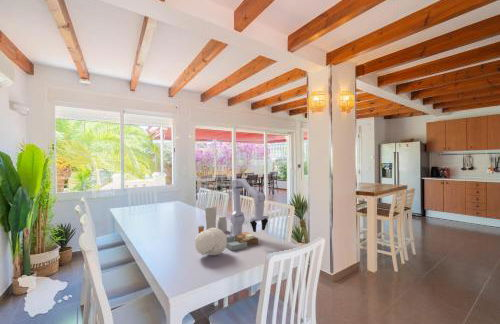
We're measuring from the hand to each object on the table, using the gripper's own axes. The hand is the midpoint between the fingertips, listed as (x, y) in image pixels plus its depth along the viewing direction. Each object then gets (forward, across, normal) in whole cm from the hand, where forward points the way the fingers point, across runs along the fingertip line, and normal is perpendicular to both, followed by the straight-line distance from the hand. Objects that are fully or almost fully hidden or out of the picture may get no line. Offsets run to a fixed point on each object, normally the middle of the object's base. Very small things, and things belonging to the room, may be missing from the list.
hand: (258, 230), depth 161 cm
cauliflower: (+10, -35, +2) cm, 36 cm away
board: (+10, -4, +10) cm, 14 cm away
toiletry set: (+10, -14, +42) cm, 45 cm away
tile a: (+6, -3, +12) cm, 14 cm away
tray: (+10, -15, +9) cm, 20 cm away
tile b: (+6, -3, +6) cm, 9 cm away
